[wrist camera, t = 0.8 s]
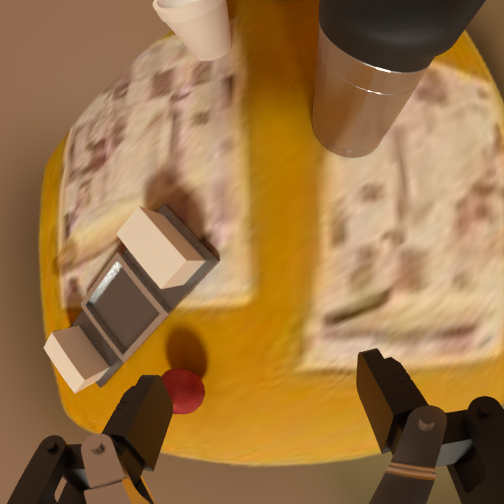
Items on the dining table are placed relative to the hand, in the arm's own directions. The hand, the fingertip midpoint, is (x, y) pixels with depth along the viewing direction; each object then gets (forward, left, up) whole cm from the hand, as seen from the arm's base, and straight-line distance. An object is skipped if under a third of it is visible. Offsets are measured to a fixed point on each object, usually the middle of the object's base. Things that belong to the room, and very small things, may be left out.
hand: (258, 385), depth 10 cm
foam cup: (-36, -16, -22) cm, 45 cm away
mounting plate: (+5, -20, -22) cm, 30 cm away
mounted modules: (+5, -20, -22) cm, 30 cm away
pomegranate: (+12, -10, -22) cm, 27 cm away
